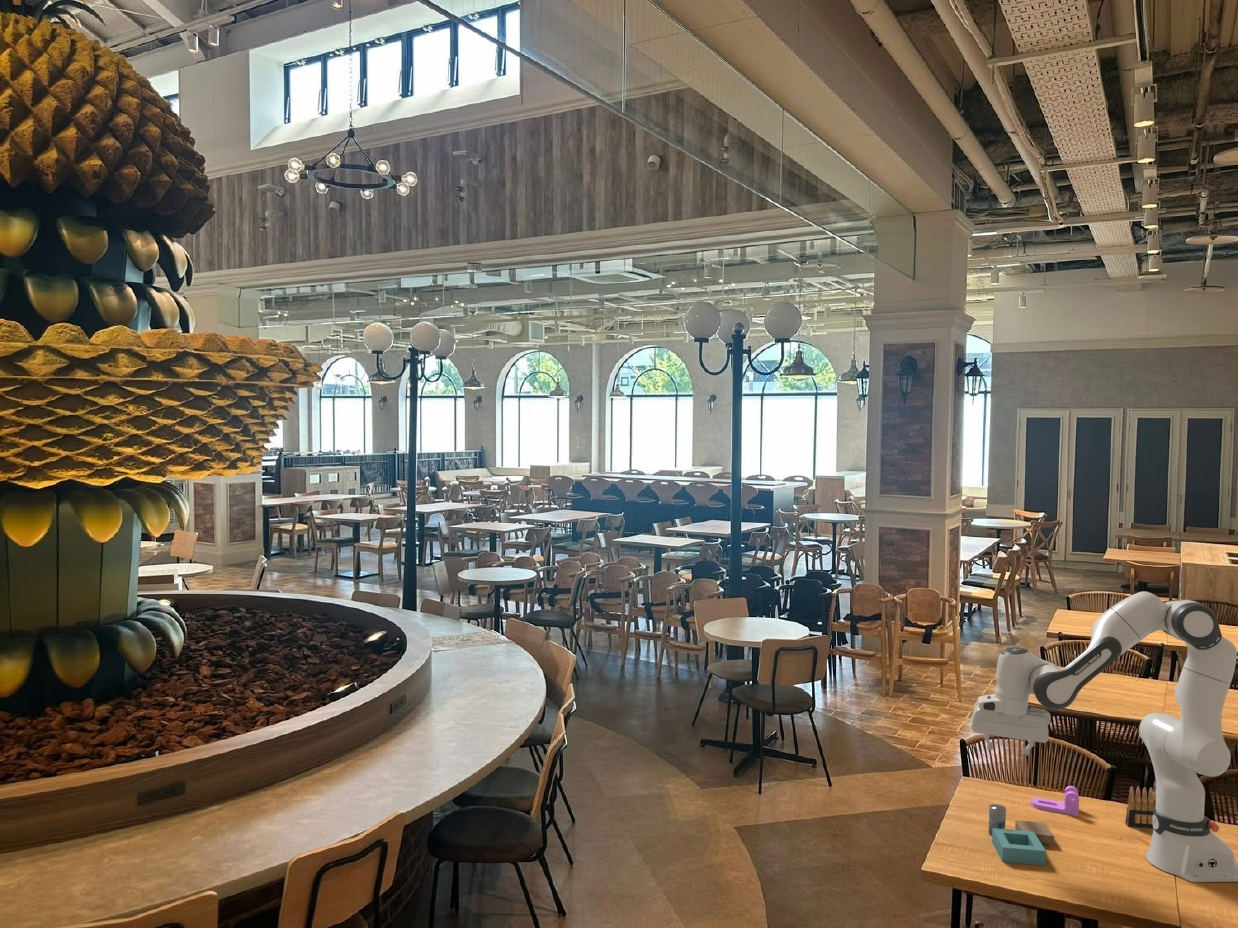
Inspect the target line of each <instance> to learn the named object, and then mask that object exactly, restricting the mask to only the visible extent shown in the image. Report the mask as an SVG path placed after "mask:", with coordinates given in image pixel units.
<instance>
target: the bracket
mask: <svg viewBox="0 0 1238 928" xmlns="http://www.w3.org/2000/svg"><path fill="white" fill-rule="evenodd" d="M1030 805H1031V806H1032V807H1033V808H1035V809H1037V810H1041V811H1042V810H1043V811H1048V812H1052V813H1058V814H1064V815H1069V816H1074V817H1079V811H1080V810H1079V809H1080V797H1079V790H1078V789H1077V788H1076V787H1075V786H1073V785H1069V786H1066V787H1065V789H1064V801H1057V800H1052V799H1047V798H1041V797H1032V798H1031V799H1030Z"/></svg>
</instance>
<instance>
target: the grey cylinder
mask: <svg viewBox="0 0 1238 928" xmlns="http://www.w3.org/2000/svg"><path fill="white" fill-rule="evenodd" d="M988 807H989V809H988V835H989V836H991V837H992V828H995V829H1006V821H1007V820H1006V816H1007V808H1006V806H1004V805H1002V804H997V803H992V804H991V803H990V805H989V806H988Z"/></svg>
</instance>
